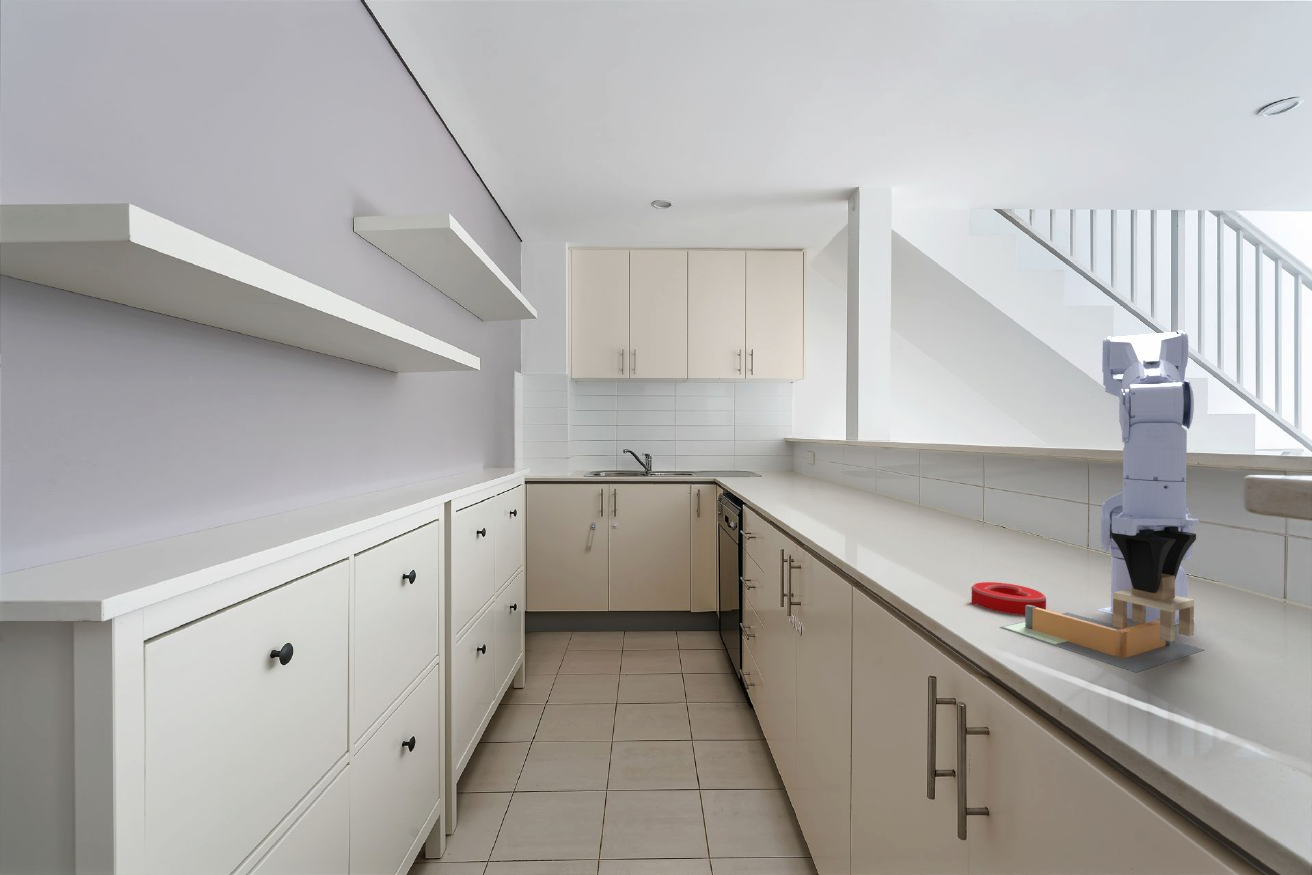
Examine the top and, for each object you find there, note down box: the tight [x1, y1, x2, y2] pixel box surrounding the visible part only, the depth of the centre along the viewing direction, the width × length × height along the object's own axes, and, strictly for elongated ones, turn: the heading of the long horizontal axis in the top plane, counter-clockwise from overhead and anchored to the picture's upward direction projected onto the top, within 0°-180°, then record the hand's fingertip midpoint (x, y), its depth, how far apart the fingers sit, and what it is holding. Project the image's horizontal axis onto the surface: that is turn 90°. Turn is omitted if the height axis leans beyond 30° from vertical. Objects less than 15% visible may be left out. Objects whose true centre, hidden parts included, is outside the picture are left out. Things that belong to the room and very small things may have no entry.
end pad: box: [1002, 621, 1068, 646], centre depth 70 cm, size 6×6×1 cm
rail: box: [1024, 605, 1170, 659], centre depth 69 cm, size 11×11×3 cm
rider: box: [1112, 574, 1195, 642], centre depth 65 cm, size 6×6×7 cm
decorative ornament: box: [971, 581, 1047, 616], centre depth 82 cm, size 10×10×3 cm
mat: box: [999, 611, 1205, 673], centre depth 68 cm, size 16×15×1 cm
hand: (1152, 589), depth 65 cm, fingers closed on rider, 3 cm apart
